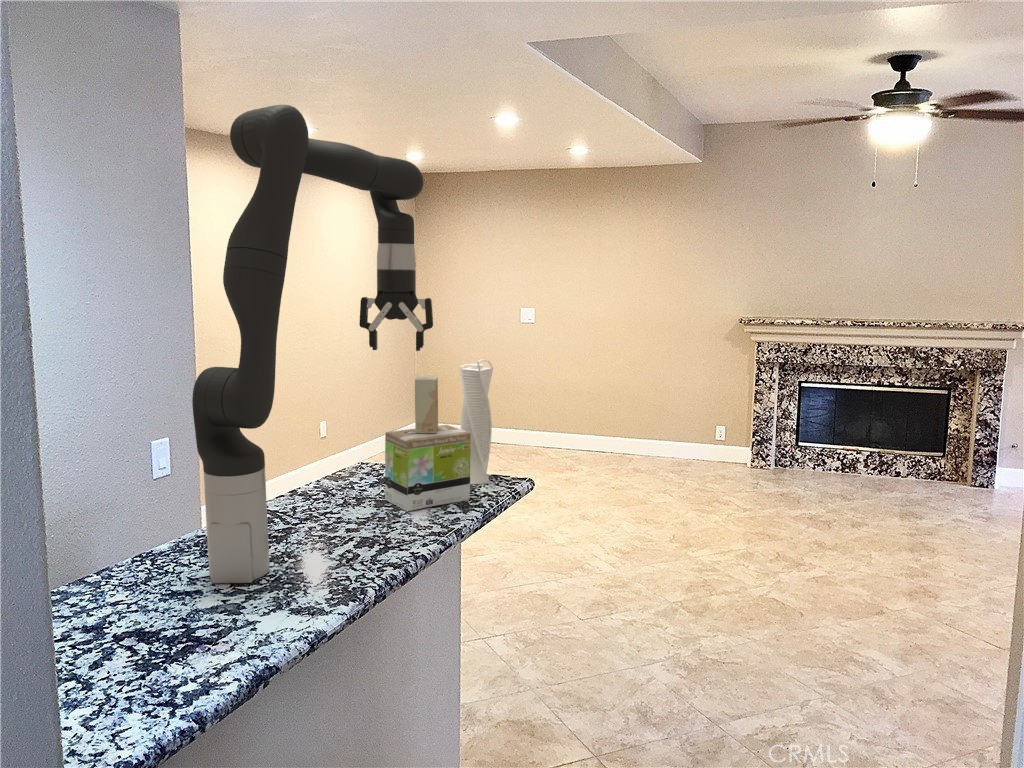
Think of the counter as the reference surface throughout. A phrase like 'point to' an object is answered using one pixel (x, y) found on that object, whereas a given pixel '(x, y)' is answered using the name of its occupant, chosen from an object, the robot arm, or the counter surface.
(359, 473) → the counter surface
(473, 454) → the skyscraper
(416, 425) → the box
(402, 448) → the tea box
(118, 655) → the counter surface
